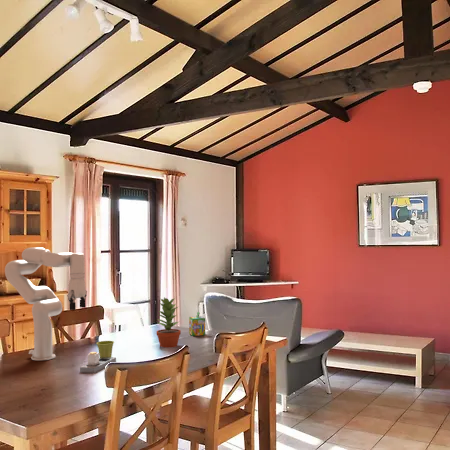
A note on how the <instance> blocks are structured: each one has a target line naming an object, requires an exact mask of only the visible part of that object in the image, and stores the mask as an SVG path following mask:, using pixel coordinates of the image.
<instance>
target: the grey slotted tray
mask: <svg viewBox="0 0 450 450" xmlns="http://www.w3.org/2000/svg"><path fill="white" fill-rule="evenodd" d="M110 362H116V363H117V357H112V356H111V357H101V358H100V357H99V365H98V366H88V363H86V364H84V365H82V366H80V367H79V373H83V374H84V373H85V374H96V373H98V372H100V371H102V370H104V369H105V366H106V365H107V364H108V363H110Z"/></svg>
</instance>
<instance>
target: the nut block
mask: <svg viewBox="0 0 450 450" xmlns="http://www.w3.org/2000/svg"><path fill="white" fill-rule="evenodd" d="M99 358H100V356H99V352H97V351H91V352H89V353H88V354H87V364H88V366H98V365H99Z"/></svg>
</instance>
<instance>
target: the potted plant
mask: <svg viewBox="0 0 450 450" xmlns="http://www.w3.org/2000/svg"><path fill="white" fill-rule="evenodd" d="M159 299H160V301H161V302H162V303H160V302H159V305H160V306H161V310H162V311H161V310H158V312H159V313H160V314H157V315H158V316H159V317H160V318H161V317H162V318H163V319H165V320H163V319H160V318H157V319H156V320H157V321H159V322H157V324H159V325H161V326H162V327H164V328H163V329H158V330H157V331H156V336H157V339H158V343H159V346H160V348H166V349H167V348H176V347H178V343H179V339H180V335H181V329H178V328H174V326H175V325H177V324H179V321H175V322H174V321H173V319H175V317H177V314H175V311H176V309H178V307H179V306H176V303H175V304H174V300H175V299H176V297H174V298H171V300H169V299H168V297H163V298H159ZM174 314H175V315H174Z"/></svg>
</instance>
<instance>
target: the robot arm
mask: <svg viewBox="0 0 450 450" xmlns="http://www.w3.org/2000/svg"><path fill="white" fill-rule="evenodd" d="M85 262H86V261H85V254H84V253H82V252H51V250H50V249H46V248H44V247H40V246H37V247H36V246H35V247H27V248H25V249H24V250H23V251H22V252H21V259H15V260H11V261H8V262H7V264H6V265H5V267H4V274H5V278H6V279H7V282H8V283H9V284H10V285H11V286H12V287H13V288H14V289H15V290H16V291H17V293H18V295H20V296H21V298H23V300H24V301H25V302H26V303H27V304H29V305H32V307H31V314H32V318H33V345H34V347H33V348H34V349H30V350H28V354H29V355H32V356H30V358H31V360H32V361H38V362H39V361H49V360H53V359H56V354H55V353H53V323H52V320H51V319H50V317H53V316H54V317H55V316H57V315H60V314H61V313H62V311H63V303H62V301H61V300H60V299H59V297H58V295H56V294H55V293H54V291H53V290H52V289H51V288H50V287H48V286H47V285H38V286H36V285H34V284H33V283H32V282H31V280H30V279H29V278H27V277H25V276H24V275H31V274H33V273H35V272H36V271H37V270H38V269H39V268H40V267H41V266H45V267H50V268H51V267H52V268H64V267H69V282H68V290H67V293H68V294H67V301H68V303H69V310H70V311H76V307H77V305H76V299H79V308H84V309H85V308H86V300H87V295H88V291H87V290H86V280H85V279H86V278H85V276H86V274H85V272H86V270H85V269H86V268H85V266H86V265H85Z"/></svg>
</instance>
